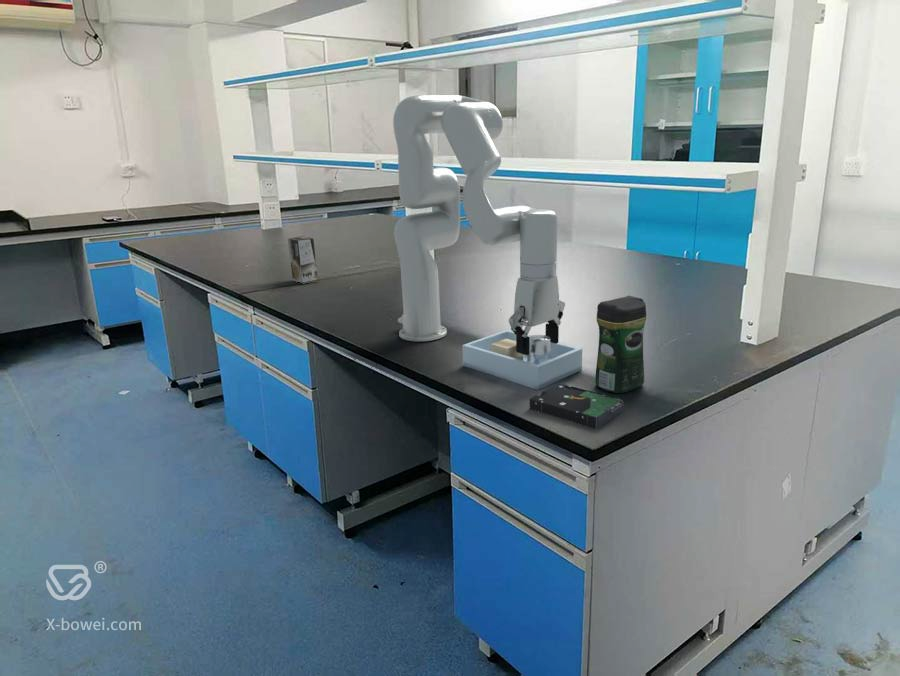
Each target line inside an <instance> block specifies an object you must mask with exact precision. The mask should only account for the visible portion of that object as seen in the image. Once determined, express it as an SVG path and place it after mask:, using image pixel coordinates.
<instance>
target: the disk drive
mask: <svg viewBox="0 0 900 676" xmlns="http://www.w3.org/2000/svg"><path fill="white" fill-rule="evenodd" d="M532 409H533V410H532ZM529 410H532V411H535V410H536V411H535V412H537V411H539V412H538V413H541V412H542V414H546V415H549V416H552V417H556V418H558V417H559V419H561V418H562V419H561V420H565V419H567V420H566V421H568V420H569V422H571V421H573V422H572V423H575V422H576V423H575V424H578V423H579V424H578V425H581V424H582V425H581V426H584V425H585V426H584V427H588V426H589V428H592V429H595V428H596V430H598V429H599V428H601V427H602V426H604V425H605V424H606V423H608V422H609V421H611V420H612V419H614V418H615V417H617V416H618V415H619V414H621V413H623V412H624V411H625V402H624V400H622V399H620V398H616V397H615V396H611V395H607V394H603V393H598V392H596V391H595V392H594V391H591V390H587V389H584V388H579V387H575V386H571V385H567V384H563V383H560V382H558V383H556V384H554V385H552V386H551V387H549V388H547V389H545V390H543V391H541V393H540V395H537V394H536V395H534V396H532V397H530V398H529Z"/></svg>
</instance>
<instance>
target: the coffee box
mask: <svg viewBox="0 0 900 676" xmlns="http://www.w3.org/2000/svg"><path fill="white" fill-rule="evenodd" d="M287 244H288V245H287V246H288V253H289V259H290V261H289V262H290V268H291V276H292V280H293V279H295V280H298V281H300V282H307V281H312V280H316V279H318V277H319V276H318V268H317V261H316V260H317V259H316V250H315V241H314V238H313V237H308V236H303V235H302V236H296V237H291V238H287ZM318 280H319V279H318Z"/></svg>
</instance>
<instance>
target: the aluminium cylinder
mask: <svg viewBox="0 0 900 676" xmlns="http://www.w3.org/2000/svg"><path fill="white" fill-rule="evenodd" d="M529 338H530V353H529V355H527V362H530V363H533V364H536V365H538V364H540V363H543V362H545V361H548V360H550V337H549V336H546V335H544V334H533V335H530V336H529Z"/></svg>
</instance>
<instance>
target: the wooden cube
mask: <svg viewBox="0 0 900 676" xmlns="http://www.w3.org/2000/svg"><path fill="white" fill-rule="evenodd" d="M491 351H492V352H495V353H499V354H502V355H505V356H509V357H512V358H516V359H519V360H523V354H521V353H518V352H517V351H516V341H513V340H509V339H504V340H501V341H498V342H495V343H492V344H491Z"/></svg>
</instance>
